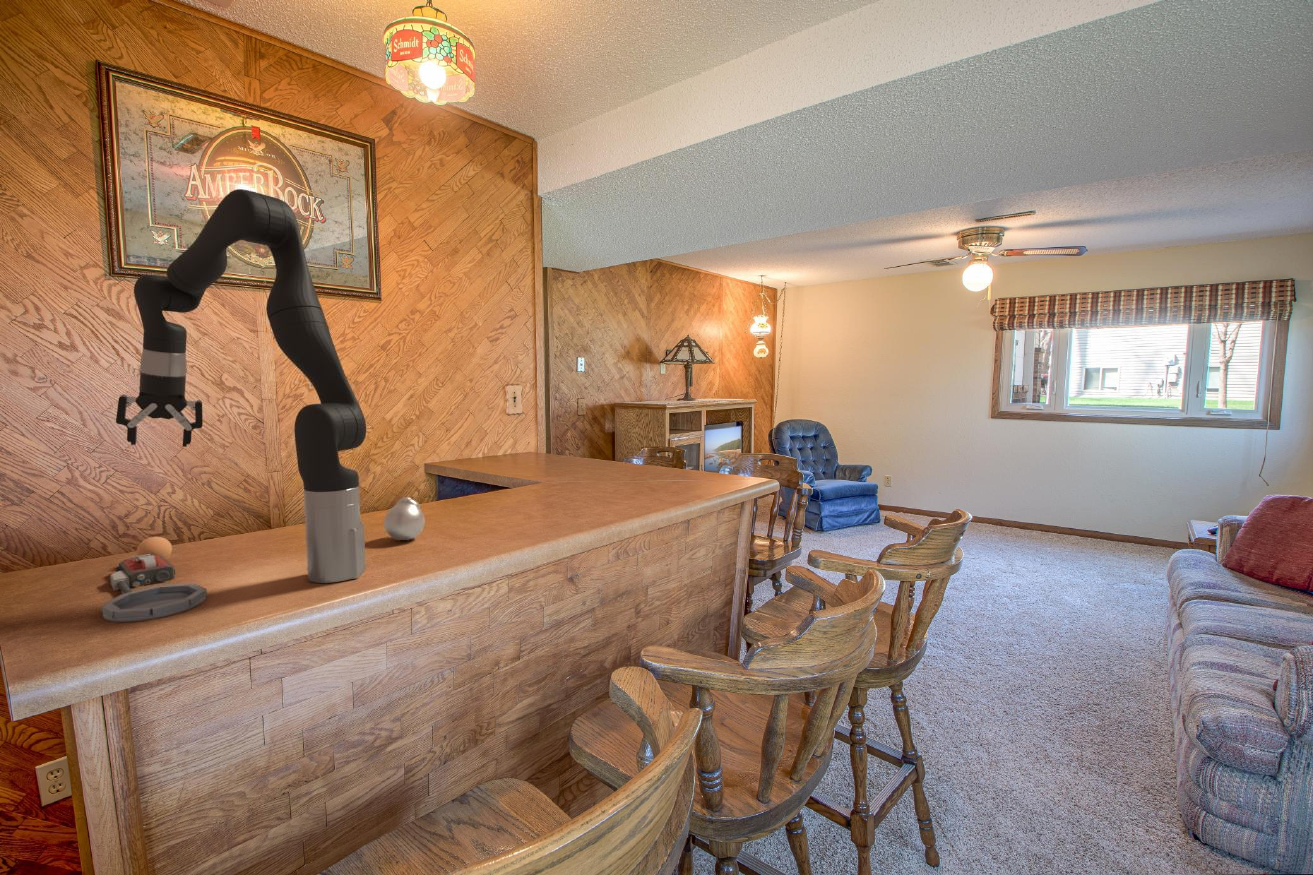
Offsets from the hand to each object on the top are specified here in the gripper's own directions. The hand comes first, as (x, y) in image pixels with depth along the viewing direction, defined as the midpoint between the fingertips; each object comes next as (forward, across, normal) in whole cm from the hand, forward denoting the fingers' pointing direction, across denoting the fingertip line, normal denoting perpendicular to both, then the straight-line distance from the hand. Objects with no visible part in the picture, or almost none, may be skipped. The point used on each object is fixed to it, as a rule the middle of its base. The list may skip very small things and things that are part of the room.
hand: (159, 445), depth 128 cm
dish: (+16, +3, -45) cm, 48 cm away
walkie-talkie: (+20, 0, -28) cm, 35 cm away
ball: (+18, +1, -15) cm, 24 cm away
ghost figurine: (+15, +47, -25) cm, 55 cm away
